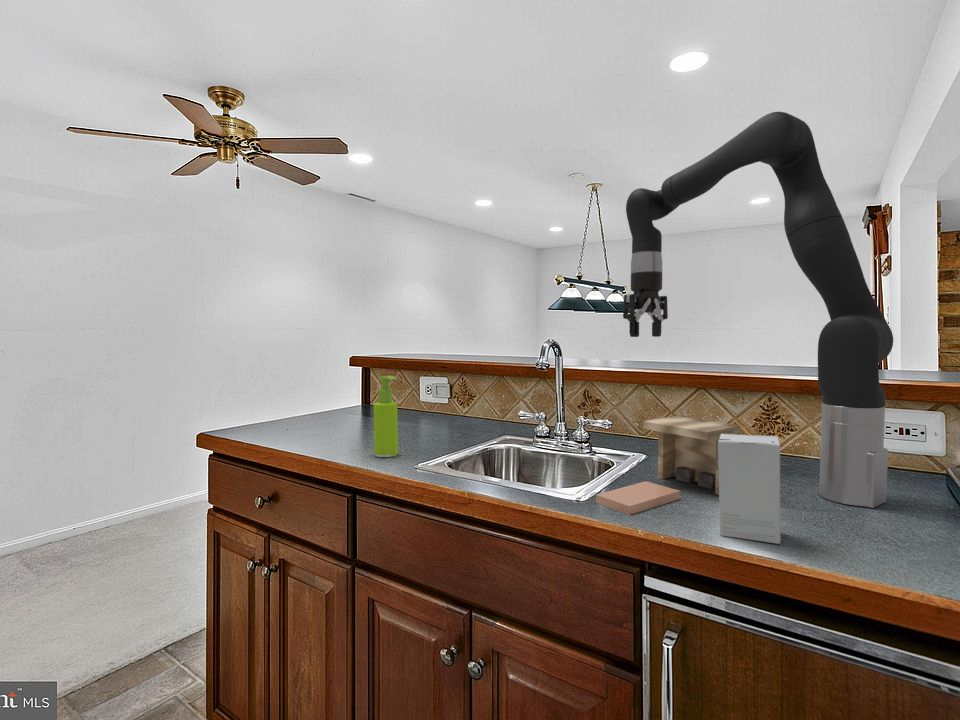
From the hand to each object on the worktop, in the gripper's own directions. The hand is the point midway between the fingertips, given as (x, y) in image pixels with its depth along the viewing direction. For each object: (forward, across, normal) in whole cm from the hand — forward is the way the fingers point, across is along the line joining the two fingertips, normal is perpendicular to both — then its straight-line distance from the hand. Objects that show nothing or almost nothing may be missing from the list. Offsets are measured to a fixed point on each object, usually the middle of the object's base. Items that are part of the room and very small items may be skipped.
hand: (645, 336), depth 129 cm
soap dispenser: (+29, -55, +35) cm, 71 cm away
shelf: (+29, -17, -23) cm, 41 cm away
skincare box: (+30, -31, -43) cm, 61 cm away
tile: (+30, -32, -24) cm, 50 cm away
